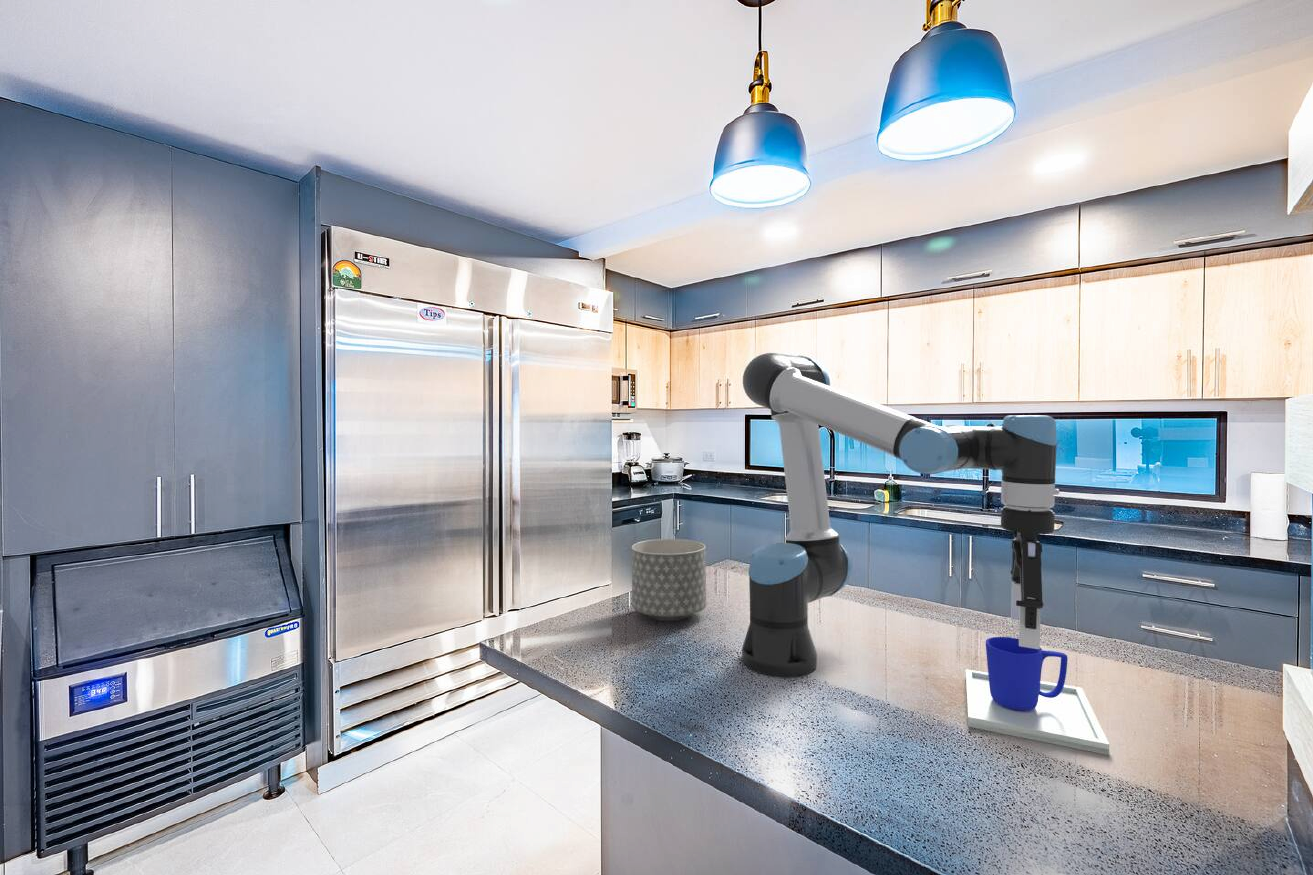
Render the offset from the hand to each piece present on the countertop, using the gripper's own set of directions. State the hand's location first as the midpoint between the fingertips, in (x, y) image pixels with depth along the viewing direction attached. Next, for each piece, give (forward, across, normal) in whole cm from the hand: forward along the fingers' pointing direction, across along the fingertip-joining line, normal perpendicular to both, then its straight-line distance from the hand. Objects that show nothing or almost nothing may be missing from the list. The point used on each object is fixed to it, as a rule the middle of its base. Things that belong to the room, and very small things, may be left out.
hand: (1024, 632), depth 96 cm
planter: (+15, +18, +75) cm, 79 cm away
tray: (+13, 0, -1) cm, 13 cm away
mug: (+12, 0, -1) cm, 13 cm away
